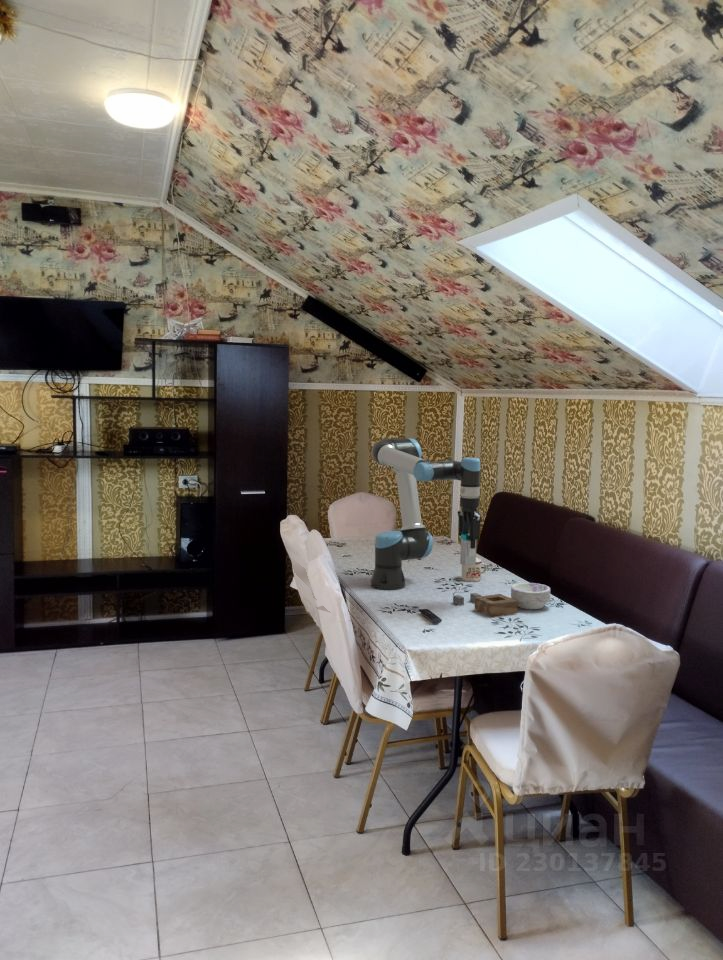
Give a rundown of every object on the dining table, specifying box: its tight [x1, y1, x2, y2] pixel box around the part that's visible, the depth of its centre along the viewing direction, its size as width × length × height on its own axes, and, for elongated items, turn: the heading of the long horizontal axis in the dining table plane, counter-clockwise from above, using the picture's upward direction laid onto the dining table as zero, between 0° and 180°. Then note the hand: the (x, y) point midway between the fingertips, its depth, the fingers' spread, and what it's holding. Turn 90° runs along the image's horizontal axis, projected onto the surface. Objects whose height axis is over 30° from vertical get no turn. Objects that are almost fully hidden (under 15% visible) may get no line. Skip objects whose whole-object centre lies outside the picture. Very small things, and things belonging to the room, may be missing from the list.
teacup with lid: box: [461, 556, 488, 582], centre depth 341 cm, size 12×9×12 cm
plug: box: [459, 532, 477, 566], centre depth 301 cm, size 4×5×12 cm
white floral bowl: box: [510, 582, 551, 610], centre depth 298 cm, size 15×15×8 cm
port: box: [474, 593, 518, 618], centre depth 291 cm, size 11×12×5 cm
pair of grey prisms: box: [452, 592, 482, 606], centre depth 303 cm, size 4×11×3 cm, turn 116°
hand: (468, 555), depth 301 cm, fingers closed on plug, 3 cm apart
